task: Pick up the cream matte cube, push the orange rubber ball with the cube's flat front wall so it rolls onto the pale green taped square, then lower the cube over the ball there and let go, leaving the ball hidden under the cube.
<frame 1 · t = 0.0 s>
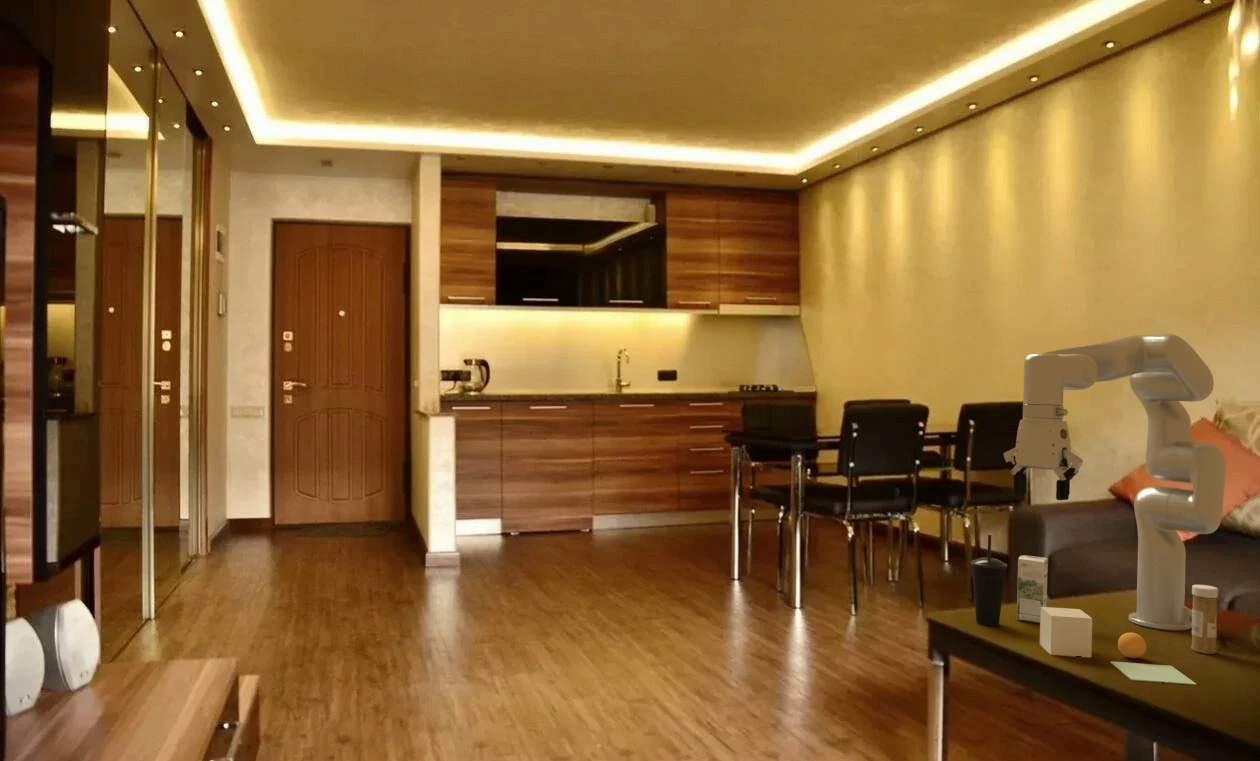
hand: (1040, 496, 187), 31 cm above the table, tool pointing down, fingers open, 9 cm apart
drinking cup: (987, 624, 207), on the table
syrup box: (1031, 620, 211), on the table
ball: (1132, 645, 182), on the table
mark: (1151, 673, 173), on the table
cream matte cube: (1064, 650, 186), on the table
sprinkles bottle: (1203, 652, 188), on the table
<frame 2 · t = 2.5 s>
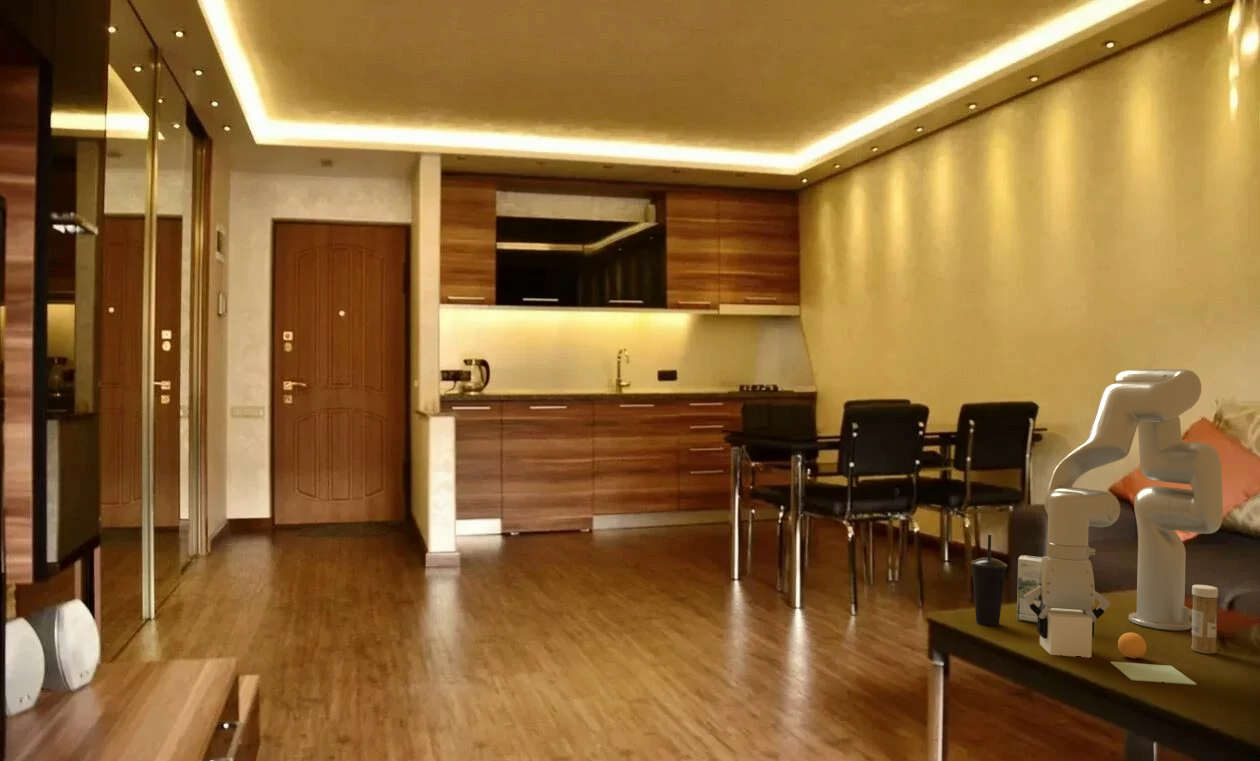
hand: (1065, 637, 186), 3 cm above the table, tool pointing down, fingers closed on cream matte cube, 7 cm apart
cream matte cube: (1064, 650, 186), on the table, touching gripper
everything else where it was.
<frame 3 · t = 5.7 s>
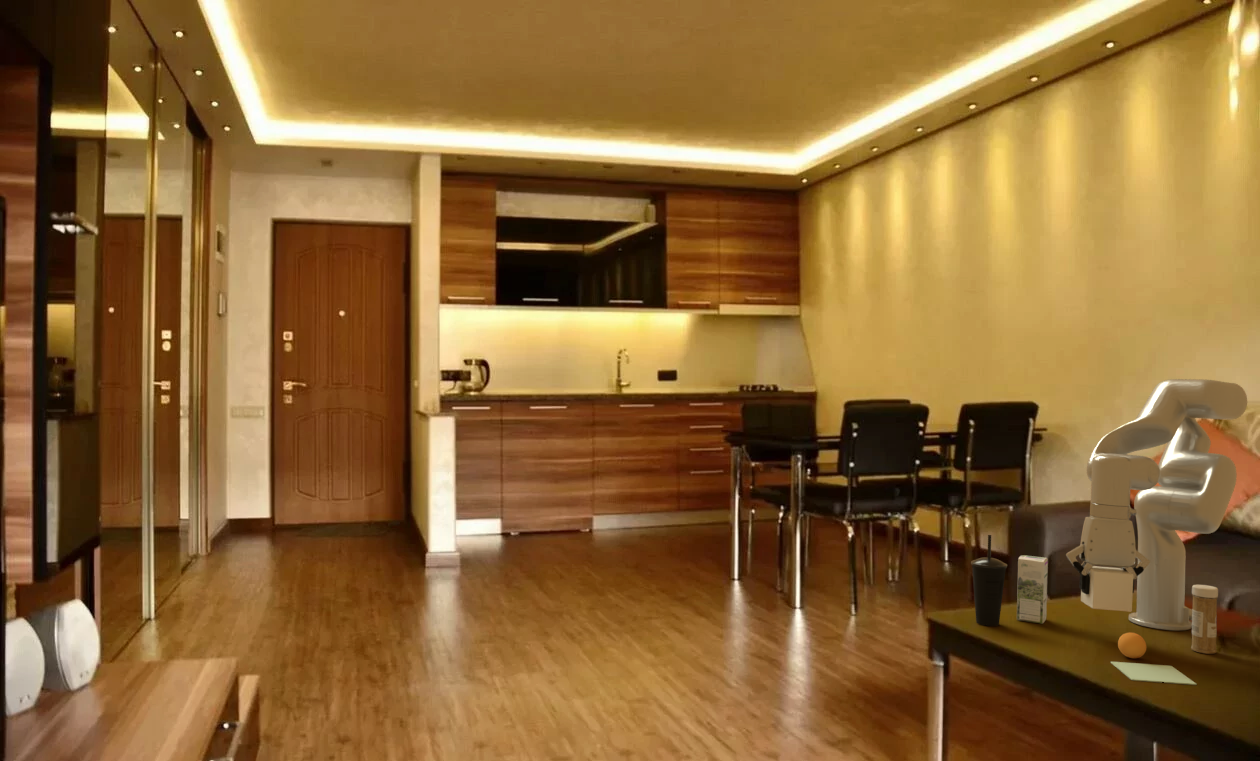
hand: (1106, 594, 196), 10 cm above the table, tool pointing down, fingers closed on cream matte cube, 7 cm apart
cream matte cube: (1105, 606, 196), point 7 cm above the table, touching gripper
everything else where it was.
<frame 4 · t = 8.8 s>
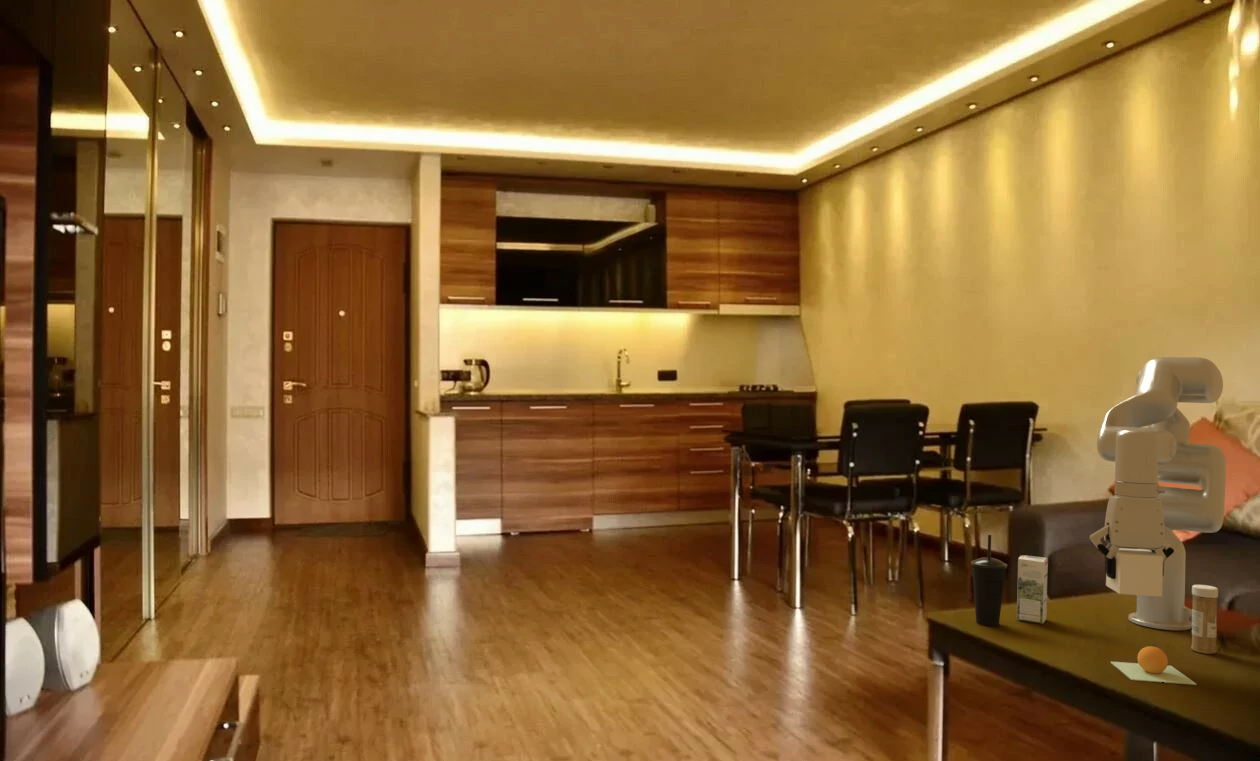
hand: (1133, 578, 182), 16 cm above the table, tool pointing down, fingers closed on cream matte cube, 7 cm apart
ball: (1152, 659, 173), on the table
cream matte cube: (1133, 590, 182), point 13 cm above the table, touching gripper
everything else where it was.
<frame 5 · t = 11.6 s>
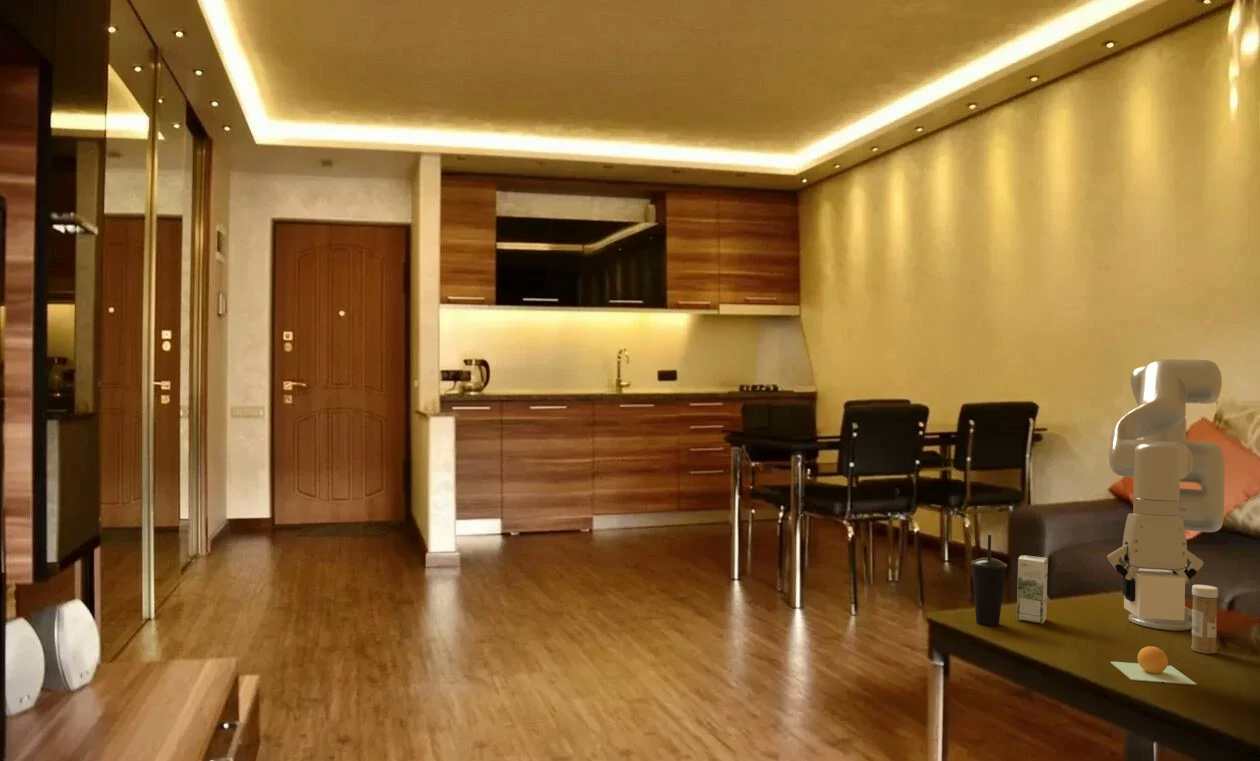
hand: (1153, 600, 172), 14 cm above the table, tool pointing down, fingers closed on cream matte cube, 7 cm apart
cream matte cube: (1153, 614, 172), point 11 cm above the table, touching gripper
everything else where it was.
when the fingers open (3 cm above the table, at t = 14.0 s): cream matte cube stays where it is, on the table.
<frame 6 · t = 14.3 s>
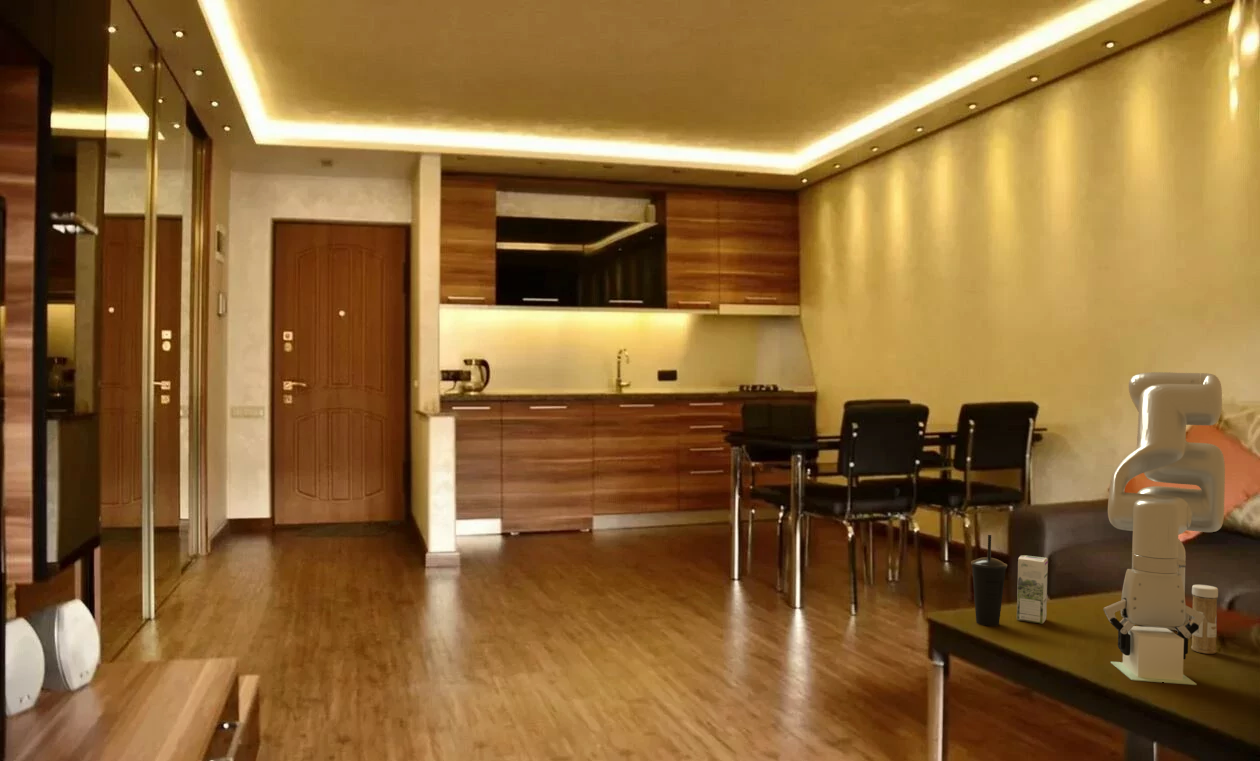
hand: (1152, 655, 173), 3 cm above the table, tool pointing down, fingers open, 9 cm apart
cream matte cube: (1151, 673, 173), on the table
everything else where it was.
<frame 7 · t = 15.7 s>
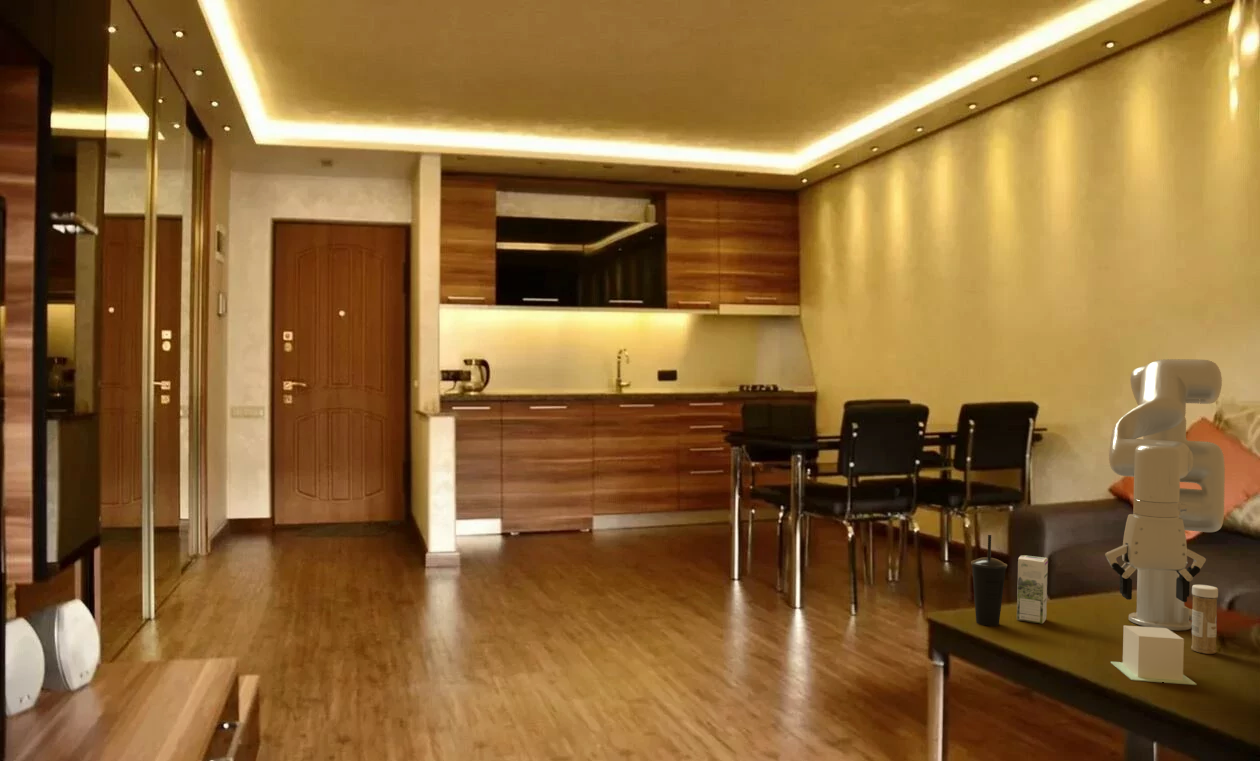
hand: (1153, 599, 173), 14 cm above the table, tool pointing down, fingers open, 9 cm apart
nothing on the table moved.
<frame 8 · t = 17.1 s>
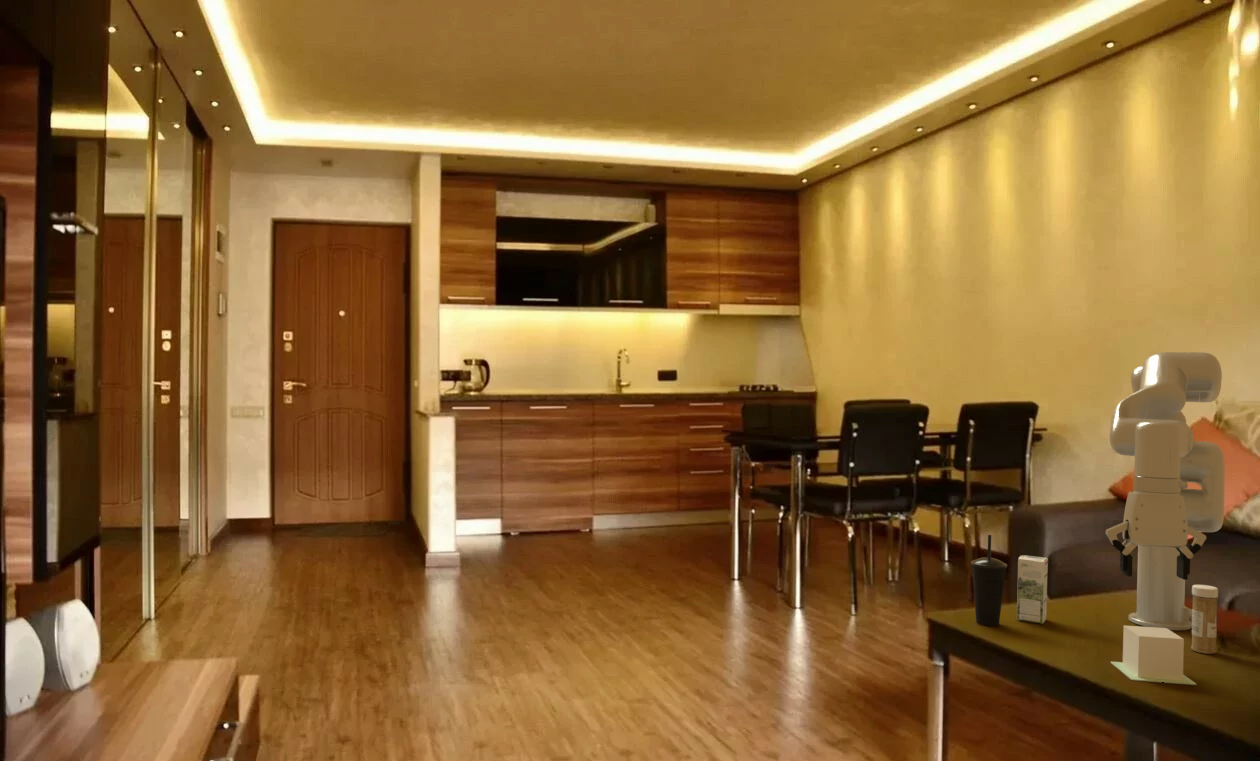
hand: (1154, 576, 173), 18 cm above the table, tool pointing down, fingers open, 9 cm apart
nothing on the table moved.
at the end: ball 0.1 cm from the cream matte cube (horizontally); cream matte cube on the table; ball moved 9.8 cm from its start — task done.
